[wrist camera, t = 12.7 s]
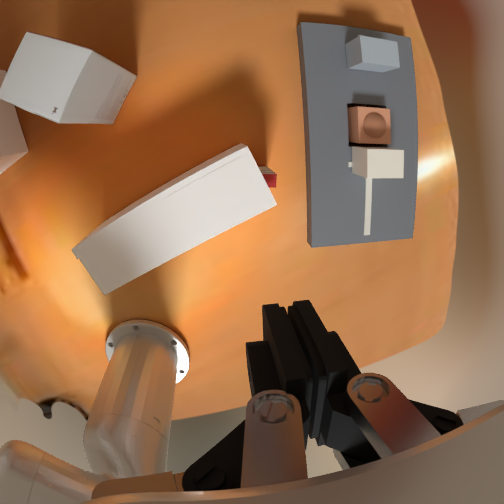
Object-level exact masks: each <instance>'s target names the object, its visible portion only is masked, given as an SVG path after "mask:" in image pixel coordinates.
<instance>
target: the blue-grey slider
mask: <svg viewBox="0 0 504 504" xmlns="http://www.w3.org/2000/svg"><path fill="white" fill-rule="evenodd" d="M345 47H346V57H347V67H348V69H357V70H366V71H374V72H382V73H383V72H386V71H390V70H393V69H397V68H400V62H399V53H398V45H397V42H395V41H390V40H385V39H379V38H373V37H367V36H360V35H359V36H358V37H356V38H355V39H353V40H351V41H350V42H348V43H347V44H345Z"/></svg>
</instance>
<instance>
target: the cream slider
mask: <svg viewBox="0 0 504 504" xmlns="http://www.w3.org/2000/svg"><path fill="white" fill-rule="evenodd" d="M352 173H354V174H357V175H359V176H362V177H365V178H367V179H370V178H403V175H404V150H400V149H394V148H388V147H362V146H352Z"/></svg>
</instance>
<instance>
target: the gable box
mask: <svg viewBox="0 0 504 504" xmlns="http://www.w3.org/2000/svg"><path fill="white" fill-rule="evenodd" d="M5 76H6V71H5V70H0V88H1V86H2V83H3V81H4V78H5ZM27 153H28V147H27V144H26V141H25V138H24V135H23V132H22V129H21V126H20V123H19V119H18V116H17V113H16V109H15V106H14V105H13V104H11V103H9V102H6V101H4V100H2V99H0V174H1V173H2V172H4V171H5V170H6V169H7V168H9V167H10V166H11V165H12V164H14V163H15V162H16V161H17V160H19V159H20V158H21V157H23V156H24V155H25V154H27Z"/></svg>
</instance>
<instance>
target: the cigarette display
mask: <svg viewBox="0 0 504 504" xmlns="http://www.w3.org/2000/svg"><path fill="white" fill-rule="evenodd" d="M276 176H277V174H276V173H275V172H273V171H272V170H271V169H269V168H268V167H267V166H257V164H256V162H255V160H254V158H253V156H252V154H251V152H250V150H249V148H248V146H246V145H244V144H242V143H240V144H238V145H236V146H234V147H232V148H230V149H228V150H226V151H224V152H222V153H220V154H218V155H216V156H214V157H213V158H211V159H209V160H207V161H205V162H203V163H201V164H199V165H198V166H196V167H194V168H192V169H190V170H188V171H187V172H185V173H183V174H181V175H180V176H178V177H176V178H174V179H172V180H171V181H169V182H167V183H166V184H164V185H162V186H160V187H159V188H157V189H155V190H154V191H152V192H150V193H149V194H147V195H145V196H144V197H142V198H140V199H139V200H137V201H135V202H134V203H132V204H131V205H129V206H127V207H126V208H124V209H123V210H121V211H120V212H118V213H116V214H115V215H113V216H112V217H110V218H109V219H107V220H106V221H104V222H103V223H102V224H100V225H99V226H98V227H97V228H96V229H95V230H93V231H92V232H91V233H90V234H89V235H88V236H86V237H85V238H84V239H83V240H82V241H81V242H80V243H79V244H77V245H76V246H75V247H74V248H73V249H72V252H73V253H74V255H75V256H76V258H77V259H78V258H79V259H80V261H81V262H82V264H83V265H84V267H85V268H86V270H87V271H88V273H89V274H90V275H91V277H92V278H93V280H94V281H95V283H96V284H97V285H98V287H99V288H100V290H101V291H102V292H103V294H104V295H106V294H108V293H110V292H112V291H114V290H115V289H117V288H119V287H121V286H123V285H124V284H126V283H128V282H130V281H132V280H134V279H135V278H137V277H139V276H141V275H143V274H145V273H146V272H148V271H150V270H152V269H154V268H156V267H158V266H159V265H161V264H163V263H165V262H167V261H169V260H171V259H173V258H174V257H176V256H178V255H180V254H182V253H184V252H186V251H188V250H190V249H192V248H193V247H195V246H197V245H199V244H201V243H203V242H205V241H207V240H209V239H211V238H213V237H215V236H217V235H218V234H220V233H222V232H224V231H226V230H228V229H230V228H232V227H234V226H236V225H238V224H240V223H242V222H244V221H246V220H248V219H250V218H252V217H254V216H256V215H258V214H260V213H262V212H264V211H266V210H268V209H270V208H272V207H274V206H276V205H277V204H276V202H275V200H274V198H273V196H272V194H271V192H270V190H269V187H276Z"/></svg>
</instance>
